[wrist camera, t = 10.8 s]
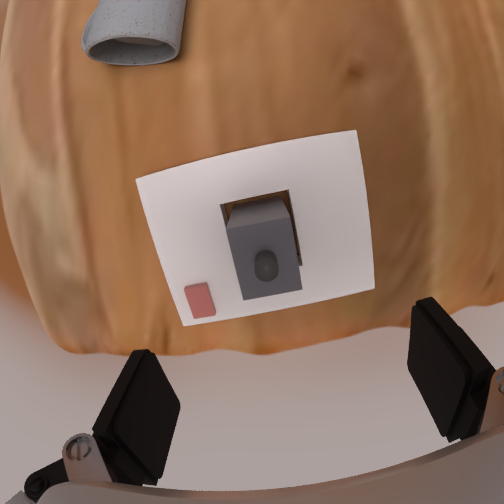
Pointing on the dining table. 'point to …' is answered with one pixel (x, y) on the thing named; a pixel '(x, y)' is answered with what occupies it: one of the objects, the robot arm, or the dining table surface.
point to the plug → (263, 248)
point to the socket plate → (250, 185)
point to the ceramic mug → (134, 31)
